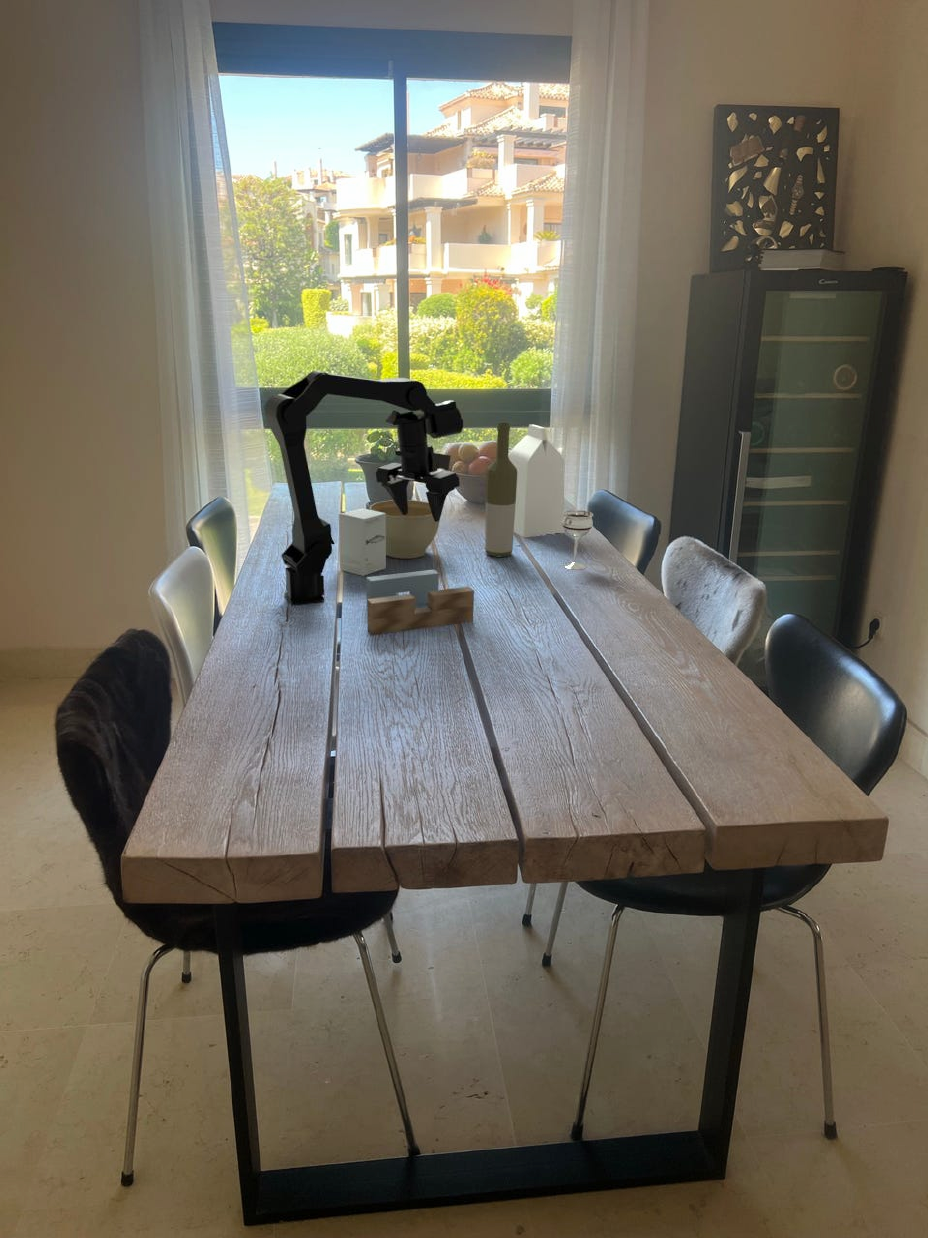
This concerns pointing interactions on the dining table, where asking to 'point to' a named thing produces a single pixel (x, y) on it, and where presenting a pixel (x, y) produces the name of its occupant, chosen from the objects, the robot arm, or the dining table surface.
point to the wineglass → (577, 530)
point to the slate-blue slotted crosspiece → (404, 585)
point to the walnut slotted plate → (420, 611)
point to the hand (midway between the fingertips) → (421, 517)
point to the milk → (538, 485)
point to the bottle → (500, 498)
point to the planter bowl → (407, 528)
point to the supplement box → (362, 541)
